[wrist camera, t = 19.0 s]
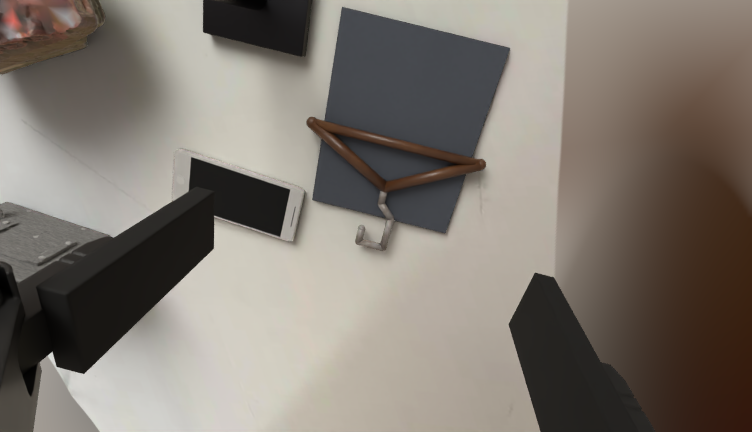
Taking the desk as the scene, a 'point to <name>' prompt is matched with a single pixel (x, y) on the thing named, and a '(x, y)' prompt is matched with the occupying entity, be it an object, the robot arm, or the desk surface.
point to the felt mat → (404, 112)
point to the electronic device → (37, 239)
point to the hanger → (462, 167)
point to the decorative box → (44, 29)
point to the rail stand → (260, 22)
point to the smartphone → (240, 194)
